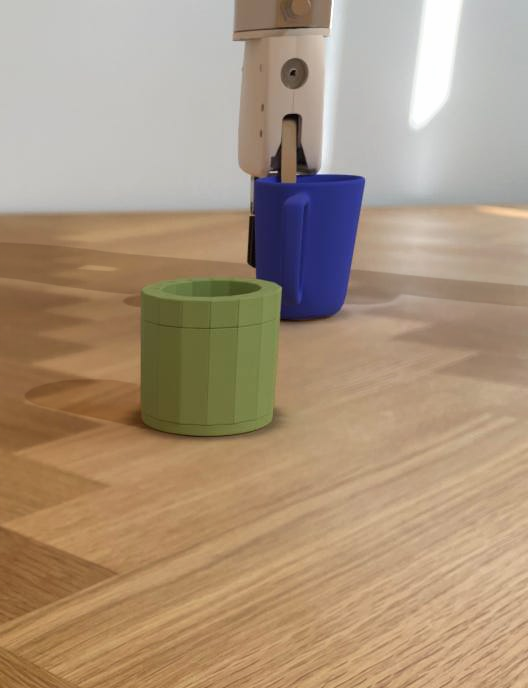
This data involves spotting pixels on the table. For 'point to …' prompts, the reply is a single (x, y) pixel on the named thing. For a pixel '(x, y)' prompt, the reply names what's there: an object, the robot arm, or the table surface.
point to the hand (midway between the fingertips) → (267, 265)
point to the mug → (307, 240)
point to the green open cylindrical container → (209, 354)
